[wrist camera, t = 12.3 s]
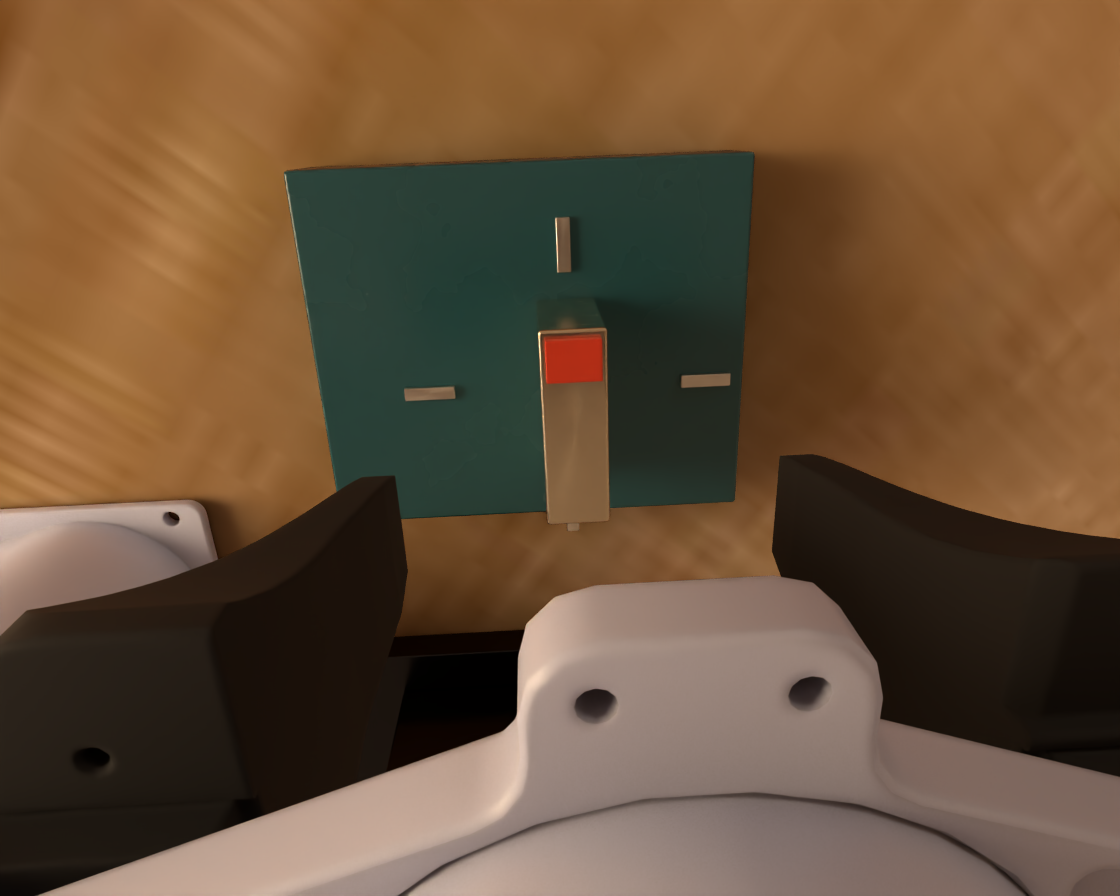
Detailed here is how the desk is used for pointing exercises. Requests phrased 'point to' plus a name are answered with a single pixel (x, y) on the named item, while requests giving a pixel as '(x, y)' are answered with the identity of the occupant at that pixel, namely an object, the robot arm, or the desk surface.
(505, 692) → the faucet stand
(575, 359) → the tan rectangular block
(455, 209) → the panel
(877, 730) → the robot arm
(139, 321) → the desk surface
